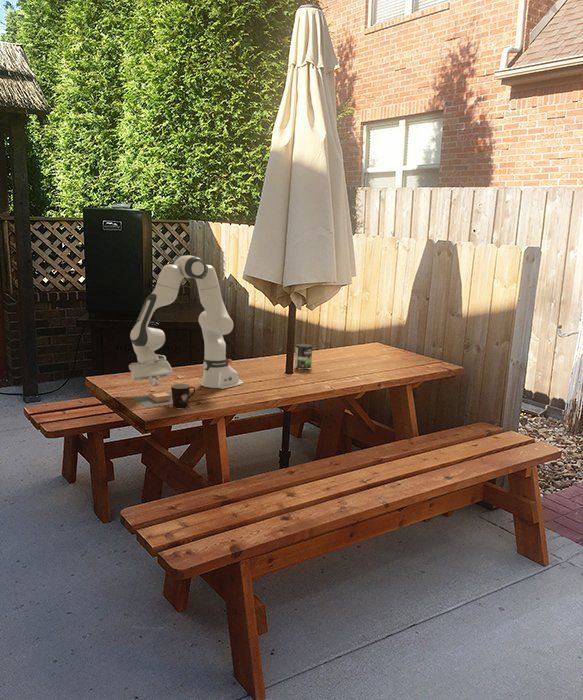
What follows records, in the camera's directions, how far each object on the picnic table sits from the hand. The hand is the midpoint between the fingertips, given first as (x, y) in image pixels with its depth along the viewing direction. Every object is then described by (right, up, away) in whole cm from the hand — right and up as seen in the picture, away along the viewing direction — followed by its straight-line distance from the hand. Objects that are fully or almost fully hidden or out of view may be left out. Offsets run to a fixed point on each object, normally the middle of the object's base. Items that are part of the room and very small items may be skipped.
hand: (156, 385), depth 308 cm
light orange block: (-1, -4, +2) cm, 5 cm away
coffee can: (+72, +6, +75) cm, 105 cm away
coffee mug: (+15, -10, -10) cm, 21 cm away
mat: (+1, -7, -1) cm, 7 cm away
